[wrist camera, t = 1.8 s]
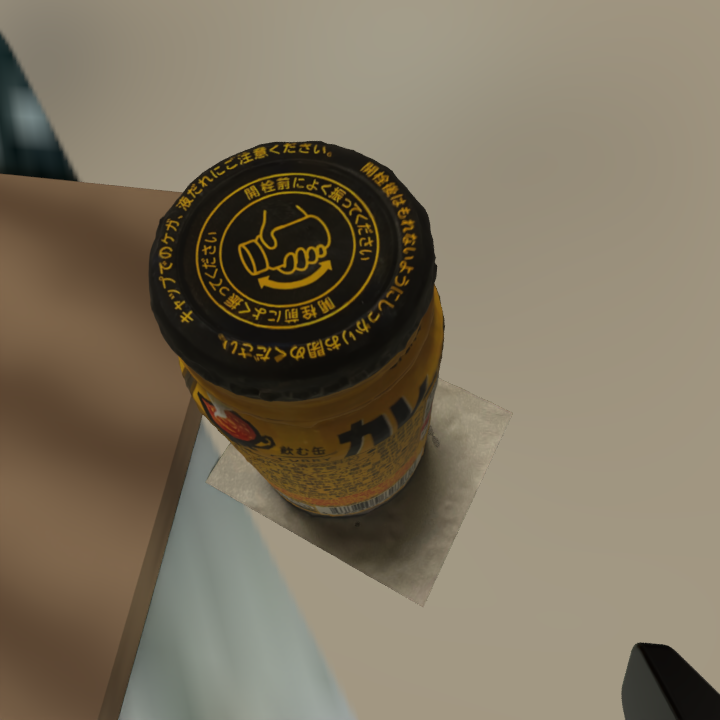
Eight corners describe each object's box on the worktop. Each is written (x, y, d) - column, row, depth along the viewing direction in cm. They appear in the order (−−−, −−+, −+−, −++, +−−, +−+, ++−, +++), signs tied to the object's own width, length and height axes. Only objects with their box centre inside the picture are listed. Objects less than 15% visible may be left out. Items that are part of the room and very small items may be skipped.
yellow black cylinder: (310, 319, 23) (234, 56, 12) (512, 414, 21) (641, 205, 10) (206, 483, 21) (-5, 343, 10) (422, 607, 19) (462, 608, 8)
